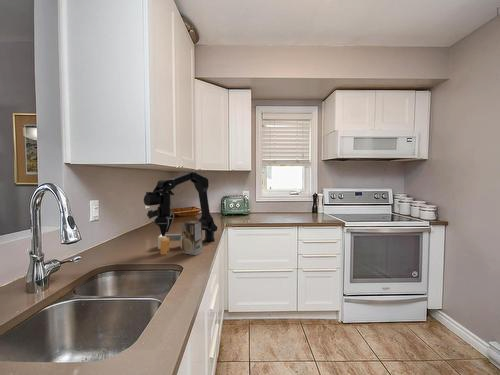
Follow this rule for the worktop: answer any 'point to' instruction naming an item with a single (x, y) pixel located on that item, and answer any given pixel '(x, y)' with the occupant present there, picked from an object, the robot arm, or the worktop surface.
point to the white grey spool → (170, 238)
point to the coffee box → (192, 237)
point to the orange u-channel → (164, 246)
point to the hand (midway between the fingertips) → (165, 234)
